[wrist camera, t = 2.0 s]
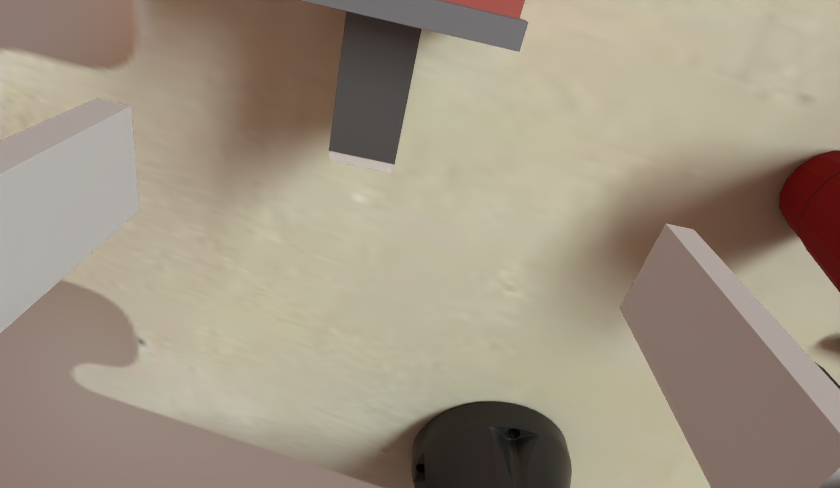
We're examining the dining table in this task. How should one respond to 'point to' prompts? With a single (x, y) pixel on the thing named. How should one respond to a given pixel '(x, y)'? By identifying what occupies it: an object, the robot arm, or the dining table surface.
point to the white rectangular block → (372, 91)
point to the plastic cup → (816, 210)
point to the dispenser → (448, 17)
